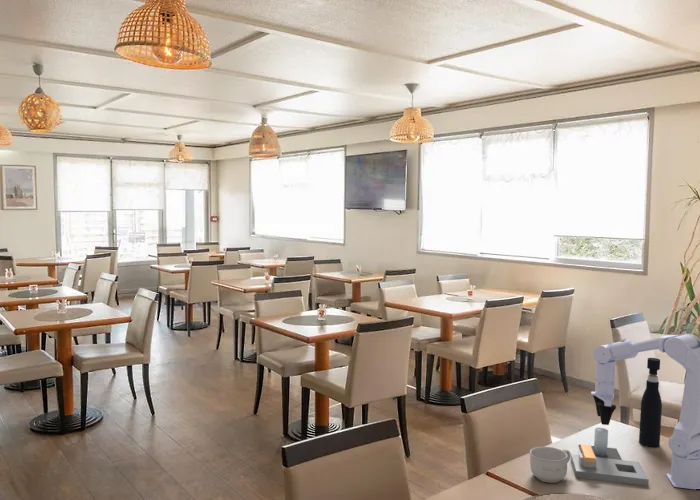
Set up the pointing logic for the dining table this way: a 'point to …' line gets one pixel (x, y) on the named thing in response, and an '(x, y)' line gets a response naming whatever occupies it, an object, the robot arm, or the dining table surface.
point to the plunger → (587, 453)
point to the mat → (608, 453)
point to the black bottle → (651, 408)
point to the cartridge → (601, 441)
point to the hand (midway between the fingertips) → (602, 420)
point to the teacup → (549, 463)
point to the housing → (609, 470)
